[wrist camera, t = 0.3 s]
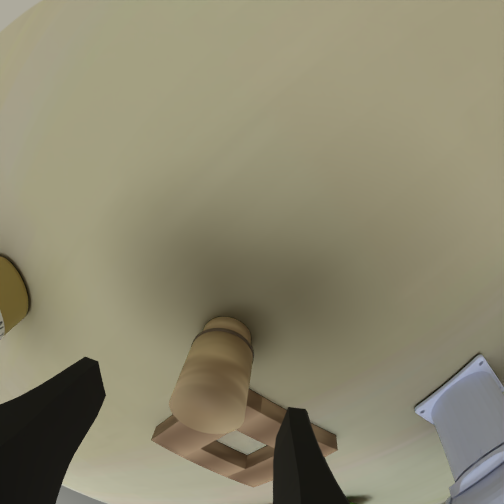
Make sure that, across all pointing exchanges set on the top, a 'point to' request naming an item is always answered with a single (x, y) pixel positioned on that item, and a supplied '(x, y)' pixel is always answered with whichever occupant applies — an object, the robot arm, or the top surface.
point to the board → (227, 459)
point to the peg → (215, 378)
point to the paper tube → (11, 297)
